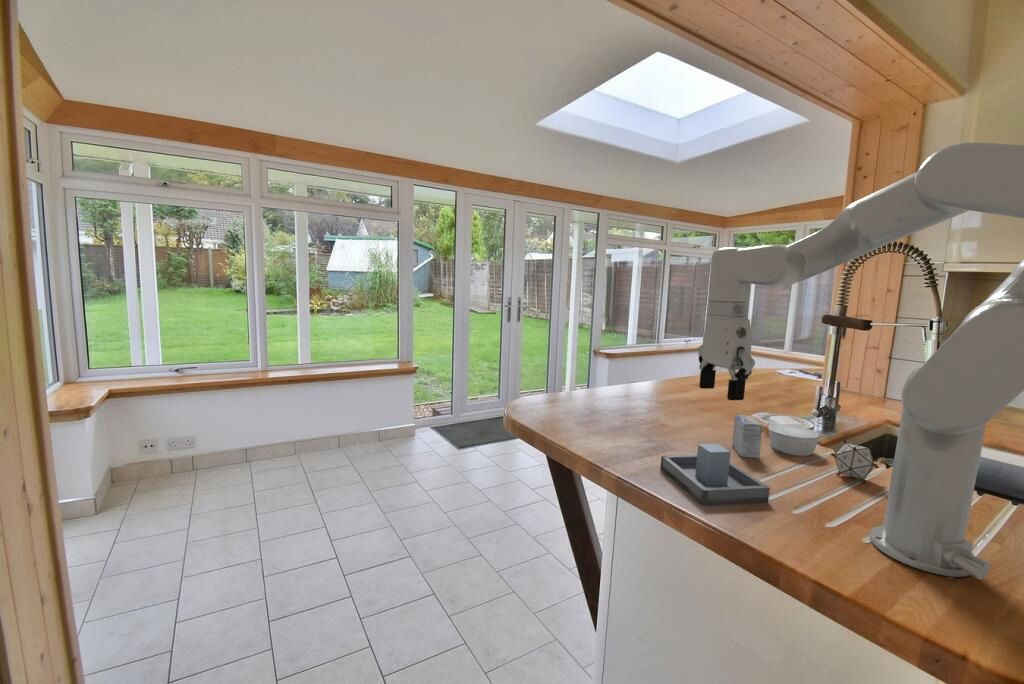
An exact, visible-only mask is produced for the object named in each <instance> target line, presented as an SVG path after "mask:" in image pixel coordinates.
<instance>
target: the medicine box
mask: <svg viewBox="0 0 1024 684" xmlns="http://www.w3.org/2000/svg"><path fill="white" fill-rule="evenodd" d="M732 434H733V435H732V441H731V442H732V445H731V446H732V448H733V449H735V451H736V452H737V454H739V456H740V457H742V458H748V459H751V458H752V459H760V456H761V455H760V453H761V445H762V436H763V435H762V434H763V424H762V423H760V421H759V420H758V419H756V418H755V417H754V416H752V415H742V414H737V415H735V416H734V423H733V433H732Z"/></svg>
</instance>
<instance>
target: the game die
mask: <svg viewBox="0 0 1024 684" xmlns="http://www.w3.org/2000/svg"><path fill="white" fill-rule="evenodd" d="M842 442H843V444H842V446H840V448H839V449H838V450H837V451H836V452H835V453H833V452H832V453H830V455H831V457H833V458H834V460H835V464H836V468H837V470H838V473H836V477H838V476H840V475H845V476H848V477H852V478H855V479H856V478H857V479H860V480H862V482H863V483H864V482H865V483H866V484H867V480H866V478H867V477H868V476H869V474H870V473H871V472H872V471H873V470H874V469H880V467H879V466H878V464H877V463H875V461H874V457H873V455H872V451H871V449H873V445H869V446H868V447H866V446H862V445H857V444H854V443H849V442H847V440H846V439H842ZM865 483H864V484H865Z"/></svg>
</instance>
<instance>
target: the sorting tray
mask: <svg viewBox="0 0 1024 684" xmlns="http://www.w3.org/2000/svg"><path fill="white" fill-rule="evenodd" d="M696 463H697V454H684V455H683V454H681V455H679V454H678V455H677V454H675V455H661V459H660V470H661V471H663V472H664V474H666V475H667V476H668V477H670V478H671V479H672V480H673V481H674V482H675V483H677V484H678V486H680V487H681V488H682V489H683V490H685V491H686V493H688V494H689V495H690V496H691V497H692V498H694V499H695V500H696V501H697V502H698V503H699V504H700V505H701V506H713V505H735V504H752V503H753V504H757V503H768V502H769V500H770V499H769V497H770V486H768V485H766V484H765V483H763V482H762V481H760V480H758V478H755V477H754V476H753V475H752V474H750V473H748V472H746V471H745V470H743V469H742V468H740V467H738V466H737V465H735V464H734V463H733V462H731V461H730V463H729V472H728V482H727V484H714V485H707V484H706V483H704V482H703V481H702V480H701V479H699V478H698V477H697V476H695V474H696Z"/></svg>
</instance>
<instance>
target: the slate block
mask: <svg viewBox="0 0 1024 684" xmlns="http://www.w3.org/2000/svg"><path fill="white" fill-rule="evenodd" d="M696 453H697V454H696V455H697V463H696V474H695V476H697V477H698V478H699V479H701V480H702V481H703V482H704V483H706V484H707V485H714V484H727V482H728V472H729V463H730V462H731V451H730V450H728V449H726V448H725V447H723V446H722V445H720V444H718V443H701V444H700V443H699V444H698V443H697V452H696Z"/></svg>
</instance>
